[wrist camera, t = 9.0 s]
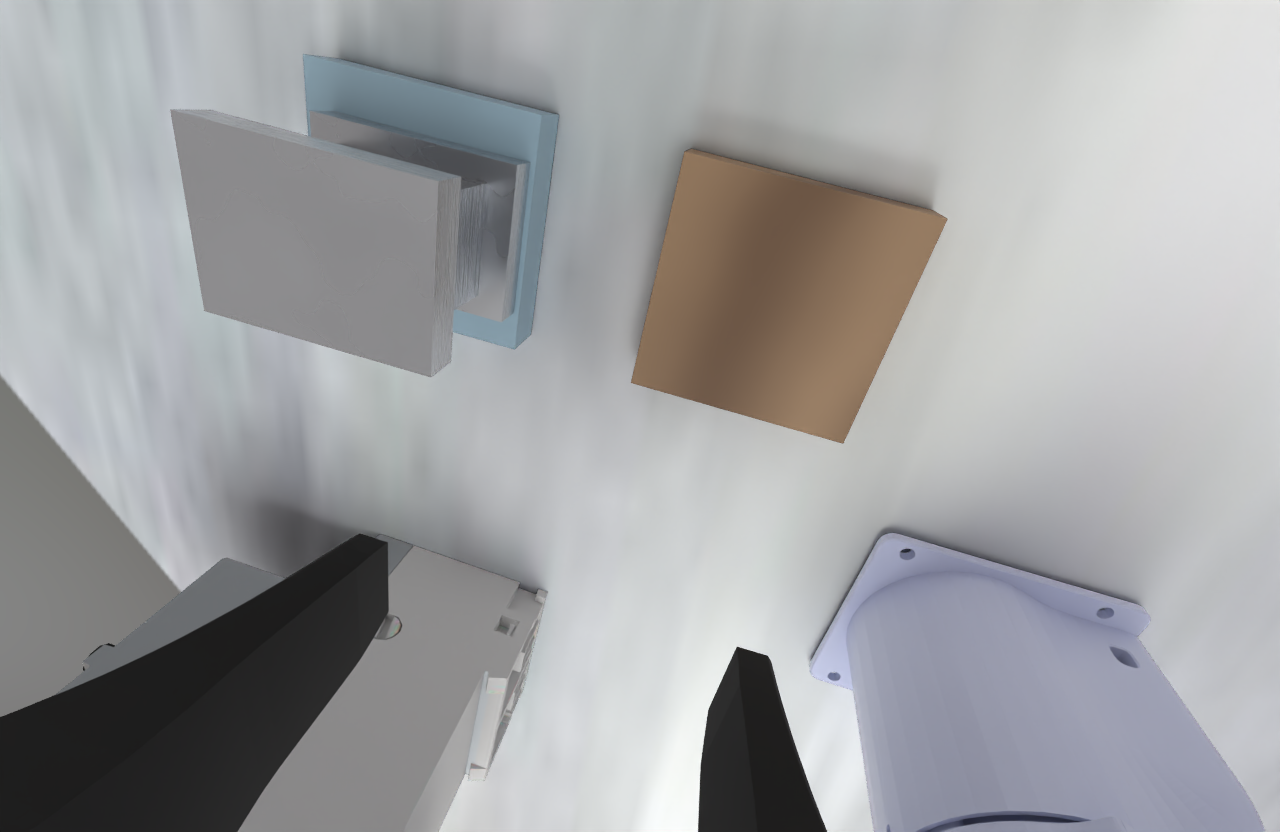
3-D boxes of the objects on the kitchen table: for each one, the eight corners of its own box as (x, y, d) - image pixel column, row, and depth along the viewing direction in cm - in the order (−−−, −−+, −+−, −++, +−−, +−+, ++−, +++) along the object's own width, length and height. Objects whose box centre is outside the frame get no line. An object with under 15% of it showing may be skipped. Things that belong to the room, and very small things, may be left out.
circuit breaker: (258, 491, 27) (-228, 849, 14) (547, 591, 26) (325, 1070, 13) (268, 600, 30) (-106, 964, 17) (522, 691, 30) (330, 1141, 17)
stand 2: (933, 210, 16) (947, 218, 15) (838, 421, 20) (843, 443, 18) (691, 148, 17) (684, 151, 15) (639, 365, 20) (631, 382, 19)
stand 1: (559, 115, 17) (541, 115, 16) (530, 334, 20) (514, 349, 19) (338, 58, 17) (303, 53, 16) (347, 282, 21) (318, 293, 19)
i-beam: (333, 110, 17) (170, 109, 12) (530, 162, 16) (438, 181, 12) (340, 263, 19) (204, 311, 14) (514, 312, 18) (430, 377, 14)
